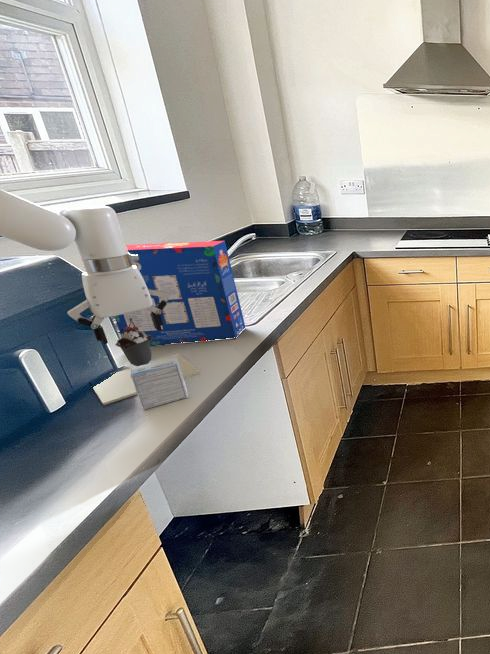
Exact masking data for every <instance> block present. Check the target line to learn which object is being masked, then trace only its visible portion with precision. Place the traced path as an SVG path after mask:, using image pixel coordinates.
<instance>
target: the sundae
mask: <svg viewBox="0 0 490 654" xmlns="http://www.w3.org/2000/svg"><path fill="white" fill-rule="evenodd" d="M129 320H130V324H131V321H132V318H130V319H129ZM132 323H133V321H132ZM133 325H134V323H133ZM138 329H139V328H138V327H136V326H135V325H134V327H133V328H131V327H130V325H129V327H126V328H125V331H124V332H123V333H122V335H121V334H120V339H118V340H116V341H117V342H116V343H115V346H116V347H118V348H120V349H121V351H122V353H123V354H124V356H125V358H126V360H127V361H128V362H129V363H130V365H133V366H134V367H136V366H141V365H145V364H148V363H149V362H152V361H151V360H152V359H153V358H152V355H153V353H152V348H151V347H152V346H150V341H151V340H152V339H153V336H152V335H146V333H144V332H142V331H139V330H138Z"/></svg>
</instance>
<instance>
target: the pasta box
mask: <svg viewBox="0 0 490 654" xmlns="http://www.w3.org/2000/svg"><path fill="white" fill-rule="evenodd" d="M226 244H227V243H226V241H225V240H212V241H211V240H210V241H188V242H187V241H186V242H185V241H183V242H162V243H160V242H159V243H158V242H157V243H140V244H139V243H137V244H126V247H127V250H128V253H129V254H131V255H138V257H139V261H135V262H134V263H133V265H135V266H136V267H137V268H138V270H139V271H140V273H141V275H142V277H143V279H144V281H145V284H146V286H147V288H148V289H153V290H158V291H164V292H167V293H169V294H170V295H169V298H168V301H167V305H166V306H165V307H164V309H163V310H162V312H161V314H160V315H161V318H162V321H163V325H162V326H161V328H162V330H160V331H159V330H157V329H155V327H154V324H153V321H152V318H151V315H150V314H151V311H150V310H148V309H144V310H140V311H135V312H131V313H126V314H121V315H117V316H113V317H114V319H115V322H116V325H117V328H118V331H119V334H120V336H121V335H122V333H123V332H124V331H125V328H126V327H129V325H130V327H131V328H133V327H134V325H135V326H136V327H138V328H139V329H138V330H139V331H142V332H144V333H146V335H152V336H153V339H152V340H151V341H150V347H157V346H156V345H162V346H166V345H165V344H171V343H181V342H182V343H183V342H195V341H206V340H207V341H208V340H215V339H226V338H234V337H235V338H236V337H237V336H238V335H239V333H240V332H241V331H242V330H243V329H244V328H245V327H246V324H245V320H244V315H243V312H242V306H241V303H240V298H239V295H238V289H237V285H236V281H235V278H234V274H233V270H232V265H231V260H230V257H229V253H228V247H227V245H226ZM150 296H151V299H152V305H153V306H156V304H157V303H158V302H159V301H160V296H154V295H150ZM130 318H132V321H133V323H134V325H133V323H132V321H131V324H130V320H129V319H130ZM239 336H240V335H239ZM208 342H209V341H208Z"/></svg>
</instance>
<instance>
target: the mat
mask: <svg viewBox="0 0 490 654" xmlns="http://www.w3.org/2000/svg"><path fill="white" fill-rule="evenodd" d="M171 358H177V360H178V363H179V366H180V369H181V373H182V376H183V379H188V378H190V377H194V376H196V375H200V374H201V371H200V370H199V369H198V368H197V367H196V366H194V365H193V364H192V363H191V362H190V361H189V360H187V359H186V358H185V357H184V356H183V355H181V354H180V353H176V354H173V355H170V356H166V357H163V358H160V359H156V360H153V361H150V362H149V363H154V362H158V361H162V360H166V359H171ZM149 363H148V364H149ZM133 367H134V366H132V367H129V368H126V369H122V370H119V371H115V372H116V373H115V372H114V373H115V374H113V375H112V376H111V377H109V378H108V379H106V380H104V381H103V382H101V383H100V384H97V385H96V386H94V387H93V388H92V389H93V391H94V392H95V394H96V396H97V397H98V399H99V401H100V402H101V403H102V405H103V406H107V405H110V404H112V403H115V402H119V401H122V400H124V399H128V398H131V397H135V396H138V395H137V392H136V389H135V386H134V383H133V381H132V378H131V370H132V368H133ZM135 367H137V366H135Z"/></svg>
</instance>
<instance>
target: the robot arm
mask: <svg viewBox="0 0 490 654" xmlns="http://www.w3.org/2000/svg"><path fill="white" fill-rule="evenodd" d="M0 237H3V238H6V239H9V240H11V241H14V242H17V243H19V244H22V245H23V246H26V247H30V248H33V249H36V250H40V251H46V252H54V251H55V252H56V251H61V250H64V249H66V248H68V247H69V246H71V245H72V244H73V243H75V244H76V246H77V250H78V252H79V254H80V258H81V261H82V263H83V267H84V270H85V271H84V272H82V273H81V281H82V287H83V291H84V295H85V298H86V299H85V300H84V301H82V302H80V303H79V304H78V305H76V306H74V307H73V308H71V309H69V310H68V311H67V312H66V313H67V315H68V316H69V317H70V318H72V319H73V320H74V321H75V322H77V323H78V324H80V325H83V326H86V327H89V328H91V329H92V331H93V334H94V337H95V340H96V341H97V342H101V343H102V344H103V345H107V344H108V343H109V341H108V338H107V335H106V333H105V331H104V327H103V326H102V325H101V324H102V322H103V321H104V319H106V318H110V317H111V318H112V317H114V316H117V315H121V314H126V313H131V312H135V311H140V310H144V309H148V310H150V311H151V314H150V315H151V318H152V321H153V324H154V327H155V329H157V330H159V331H160V330H162V328H161V326H162V325H163V321H162V318H161V315H160V314H161V312H162V310H163V309H164V307H165V306H166V305H167V301H168V298H169V295H170V294H169V293H167V292H164V291H158V290H153V289H148V288H147V286H146V284H145V281H144V279H143V277H142V275H141V273H140V271H139V270H138V268H137V267H136V266H135V265H133V263H134V262H135V261H139V257H138V255H131V254H129V253H128V250H127V247H126V245H127V244H126V241H125V237H124V235H123V231H122V228H121V225H120V222H119V219H118V215H117V213H116V211H115V210H114V208H112V207H111V206H108V205H107V206H106V205H83V206H76V207H75V206H74V207H72V208H49V207H48V208H47V207H43V206H41V205H38V204H36V203H34V202H31V201H29V200H27V199H25V198H22V197H20V196H17V195H15V194H13V193H11V192H8V191H6V190H4V189H2V188H0ZM150 295H154V296H160V301H159V302H158V303H157V304H156V306H153V305H152V299H151V296H150ZM88 308H89V310H90V312H91V314H93V315H92V317H91V318H90V319H89V318H86V317H84V316H82V315H81V313H83V312H84V311H85V310H87V309H88Z"/></svg>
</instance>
